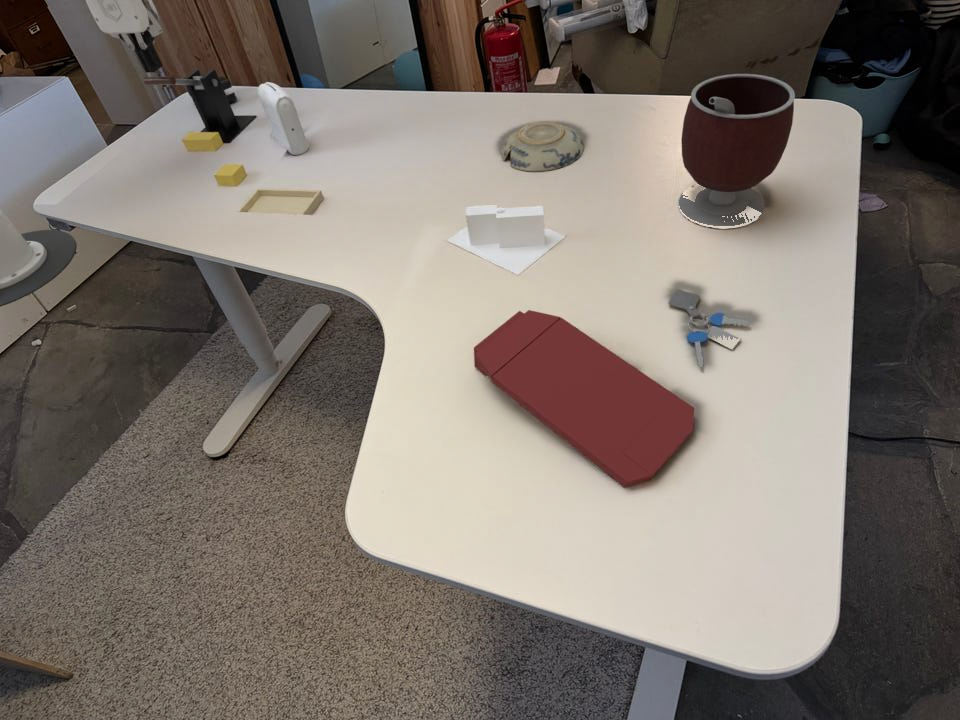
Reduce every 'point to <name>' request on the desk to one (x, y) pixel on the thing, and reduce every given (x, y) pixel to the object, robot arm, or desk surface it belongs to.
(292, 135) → the photo printer
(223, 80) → the end cap
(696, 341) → the key chain
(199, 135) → the butter
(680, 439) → the dark red case
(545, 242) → the napkin holder
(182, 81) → the grey and brown t-shape
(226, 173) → the butter pat
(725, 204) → the mate gourd
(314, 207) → the beige square tray
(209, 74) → the black stand
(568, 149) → the decorative bowl
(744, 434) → the desk surface
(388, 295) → the desk surface
